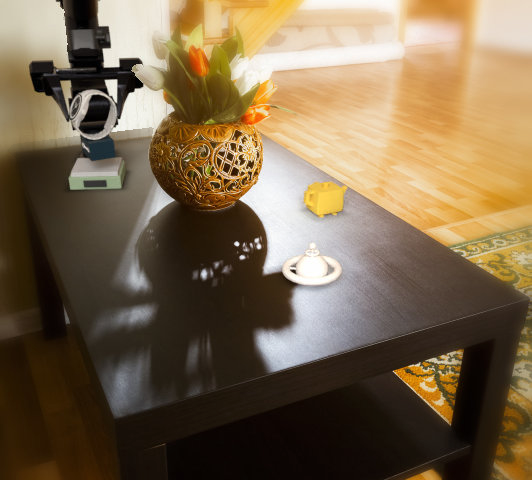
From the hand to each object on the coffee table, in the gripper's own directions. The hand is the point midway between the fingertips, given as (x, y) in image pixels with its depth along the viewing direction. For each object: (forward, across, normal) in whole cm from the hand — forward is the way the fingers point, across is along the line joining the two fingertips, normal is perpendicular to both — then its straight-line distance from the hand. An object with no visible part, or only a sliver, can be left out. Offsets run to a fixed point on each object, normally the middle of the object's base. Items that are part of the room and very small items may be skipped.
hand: (93, 119), depth 107 cm
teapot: (+22, +36, -5) cm, 42 cm away
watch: (+4, 0, +6) cm, 7 cm away
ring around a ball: (+38, +26, -22) cm, 51 cm away
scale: (+6, 0, +11) cm, 13 cm away
